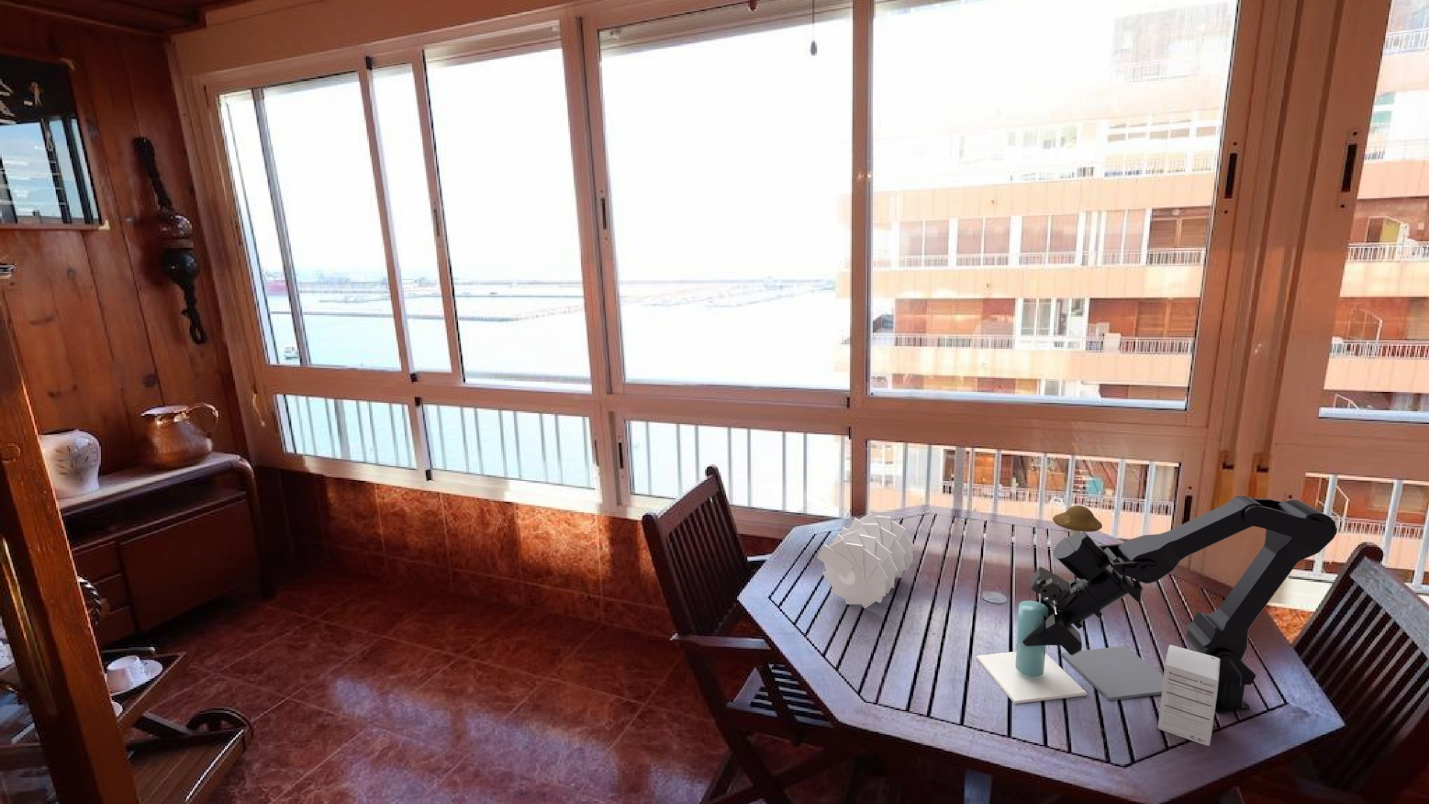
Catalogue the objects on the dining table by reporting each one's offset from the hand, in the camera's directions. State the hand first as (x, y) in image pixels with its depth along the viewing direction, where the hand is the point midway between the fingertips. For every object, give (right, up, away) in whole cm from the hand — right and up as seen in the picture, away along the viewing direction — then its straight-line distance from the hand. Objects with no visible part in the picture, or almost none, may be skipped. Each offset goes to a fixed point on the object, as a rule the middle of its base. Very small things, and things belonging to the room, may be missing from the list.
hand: (1023, 636), depth 126 cm
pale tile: (+2, -8, +1) cm, 8 cm away
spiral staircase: (-22, -2, +36) cm, 42 cm away
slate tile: (+19, -7, +1) cm, 20 cm away
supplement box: (+21, -11, -13) cm, 27 cm away
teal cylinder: (+2, -6, +1) cm, 7 cm away
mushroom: (+35, +3, +47) cm, 59 cm away
